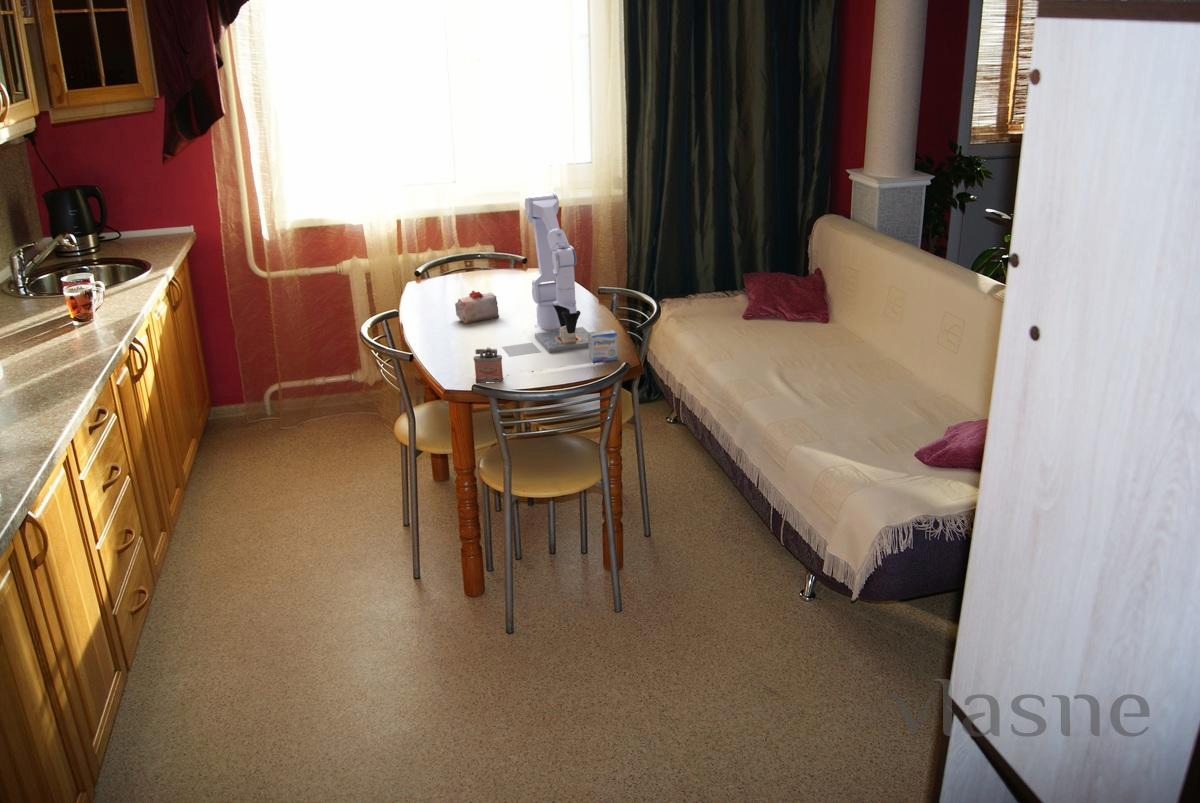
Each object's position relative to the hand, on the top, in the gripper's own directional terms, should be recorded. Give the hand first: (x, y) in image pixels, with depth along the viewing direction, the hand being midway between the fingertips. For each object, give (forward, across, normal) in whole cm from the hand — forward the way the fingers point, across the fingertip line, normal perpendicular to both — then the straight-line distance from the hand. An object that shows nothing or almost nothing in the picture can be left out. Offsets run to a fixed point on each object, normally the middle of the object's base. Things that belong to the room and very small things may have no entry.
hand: (567, 329), depth 315 cm
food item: (+6, -42, -20) cm, 46 cm away
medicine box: (+6, +16, +6) cm, 18 cm away
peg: (+6, 0, 0) cm, 6 cm away
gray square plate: (+6, -1, -15) cm, 16 cm away
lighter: (+6, +20, -30) cm, 37 cm away
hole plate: (+6, -2, 0) cm, 6 cm away
